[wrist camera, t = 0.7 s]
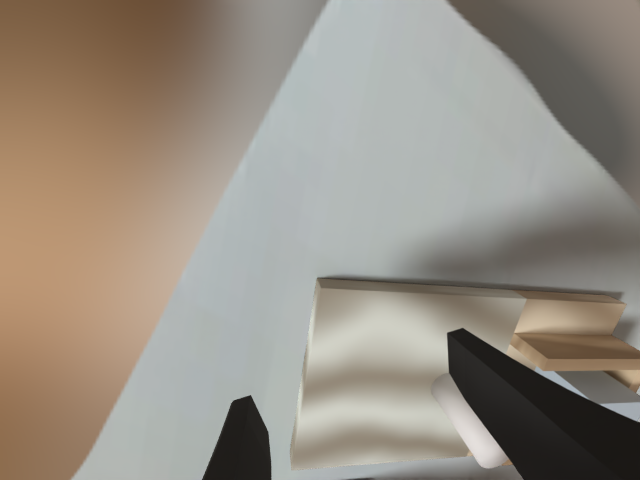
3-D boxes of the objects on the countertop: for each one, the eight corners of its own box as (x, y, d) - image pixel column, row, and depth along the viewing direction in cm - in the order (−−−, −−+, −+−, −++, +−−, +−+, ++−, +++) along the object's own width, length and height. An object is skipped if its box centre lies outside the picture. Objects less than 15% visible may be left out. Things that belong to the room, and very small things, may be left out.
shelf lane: (542, 435, 31) (586, 481, 26) (289, 452, 25) (295, 514, 21) (607, 295, 26) (673, 324, 22) (316, 278, 20) (330, 313, 16)
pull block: (564, 405, 27) (634, 466, 22) (424, 411, 24) (467, 483, 19) (586, 359, 26) (666, 413, 21) (440, 359, 23) (491, 423, 18)
